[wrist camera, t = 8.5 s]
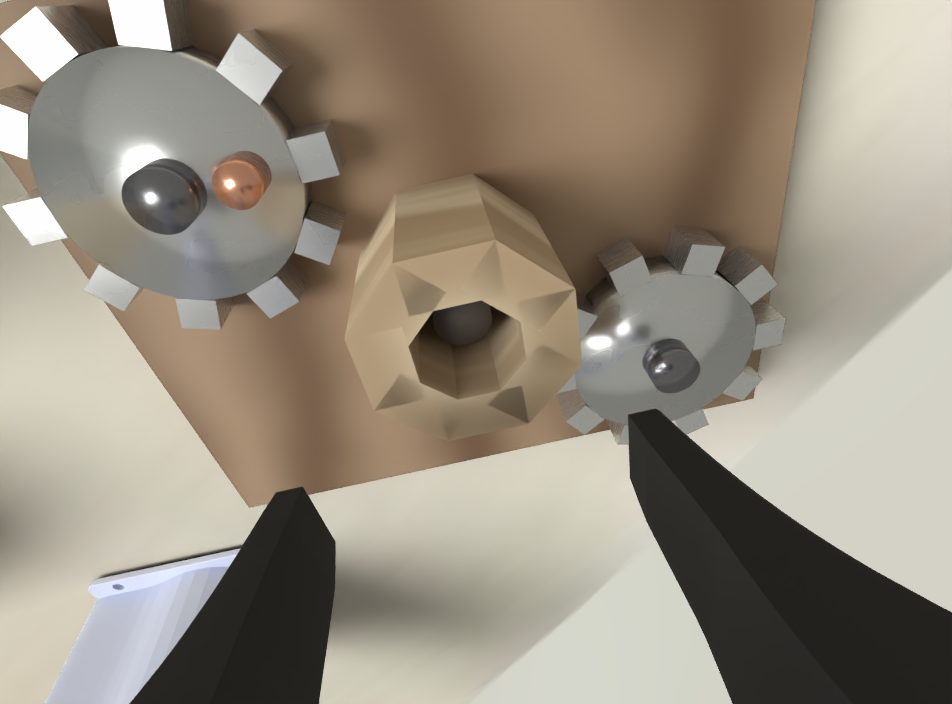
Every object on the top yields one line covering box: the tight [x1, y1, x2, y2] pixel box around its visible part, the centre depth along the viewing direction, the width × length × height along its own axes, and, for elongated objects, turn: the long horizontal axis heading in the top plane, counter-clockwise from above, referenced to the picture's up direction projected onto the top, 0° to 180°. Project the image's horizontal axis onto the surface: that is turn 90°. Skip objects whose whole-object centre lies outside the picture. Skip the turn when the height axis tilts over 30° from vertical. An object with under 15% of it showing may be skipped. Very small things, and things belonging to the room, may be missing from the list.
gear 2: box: [557, 226, 785, 445], centre depth 19 cm, size 8×8×2 cm
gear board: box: [0, 0, 816, 508], centre depth 16 cm, size 22×18×5 cm
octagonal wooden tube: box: [345, 174, 582, 441], centre depth 15 cm, size 6×6×5 cm
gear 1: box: [0, 0, 346, 330], centre depth 14 cm, size 8×8×3 cm
